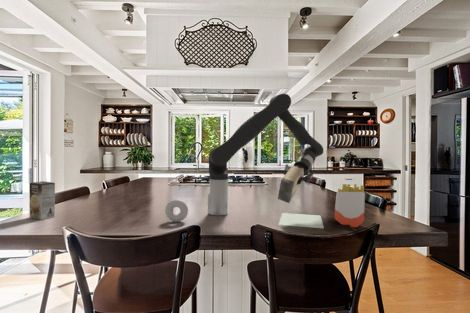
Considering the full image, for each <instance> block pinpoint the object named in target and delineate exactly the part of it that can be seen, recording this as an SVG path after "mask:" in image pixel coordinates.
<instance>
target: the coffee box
mask: <svg viewBox="0 0 470 313" xmlns="http://www.w3.org/2000/svg"><path fill="white" fill-rule="evenodd" d="M55 188H56V184H55V182H51V181H35V182H29V218H31V219H35V220H40V221H44V220H48V219H51V218H55V217H56V216H55V214H56V210H55V209H56V206H55V204H56V203H55V202H56V198H55V197H56V195H55V194H56V189H55Z"/></svg>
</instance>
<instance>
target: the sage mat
mask: <svg viewBox="0 0 470 313" xmlns="http://www.w3.org/2000/svg"><path fill="white" fill-rule="evenodd" d="M278 226H288V227H300V228H312V229H313V228H315V229H324V228H325V227H324V224H323V220H322V217H321V215H317V214H306V213H305V214H303V213H302V214H301V213H289V212H282V213H281V215H280V219H279V222H278Z"/></svg>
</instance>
